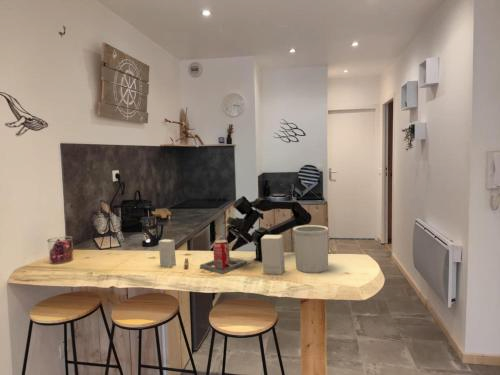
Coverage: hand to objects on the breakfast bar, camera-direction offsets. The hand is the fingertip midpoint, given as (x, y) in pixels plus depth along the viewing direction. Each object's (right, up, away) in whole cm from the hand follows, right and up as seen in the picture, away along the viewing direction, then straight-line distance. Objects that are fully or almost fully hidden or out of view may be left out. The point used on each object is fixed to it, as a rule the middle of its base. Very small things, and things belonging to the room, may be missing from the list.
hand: (227, 248), depth 164 cm
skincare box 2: (+20, -9, -10) cm, 24 cm away
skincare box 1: (-28, -9, +4) cm, 30 cm away
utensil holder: (+37, -8, -6) cm, 38 cm away
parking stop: (-19, -9, +3) cm, 21 cm away
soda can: (-3, -9, -1) cm, 9 cm away
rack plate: (-2, -8, 0) cm, 8 cm away
